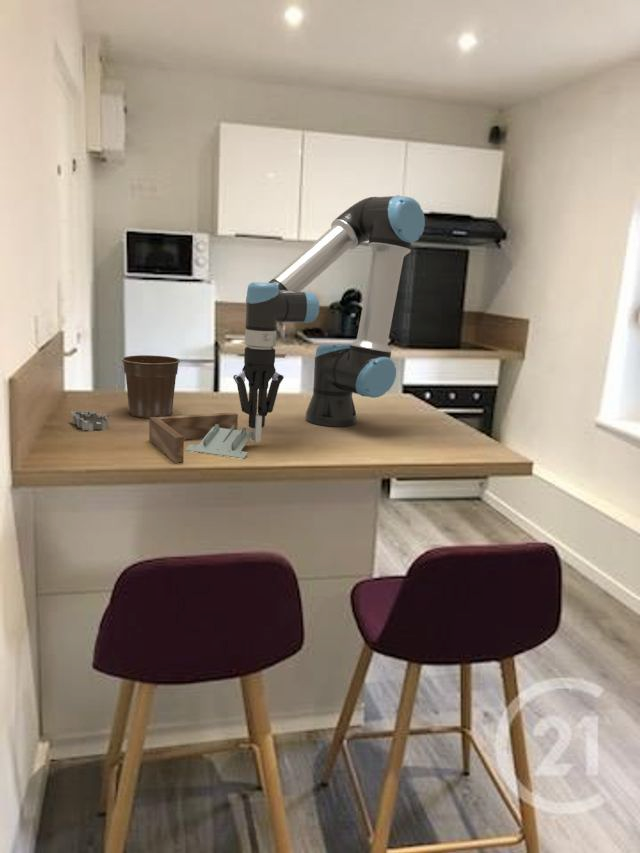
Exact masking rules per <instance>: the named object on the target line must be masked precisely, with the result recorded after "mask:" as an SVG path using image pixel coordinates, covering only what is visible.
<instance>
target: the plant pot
mask: <svg viewBox="0 0 640 853" xmlns="http://www.w3.org/2000/svg"><path fill="white" fill-rule="evenodd" d="M121 361H122V363H123V371H124V372H123V373H124V374H125V381H126V392H127V401H128V402H127V404H128V414H130V415H131V416H132V417H137V418H143V419H149V418H152V417H168V416H169V415H170V416H172V414H173V407H174V406H173V405H174V397H175V388H176V381H177V380H176V378H177V375H178V371H179V368H178V367H179V363H181V359H179V358H177V357H173V356H165V355H151V354H150V355H146V354H145V355H143V354H141V355H140V354H139V355H138V354H137V355H129V356H124V357H123V356H122V358H121Z"/></svg>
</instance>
